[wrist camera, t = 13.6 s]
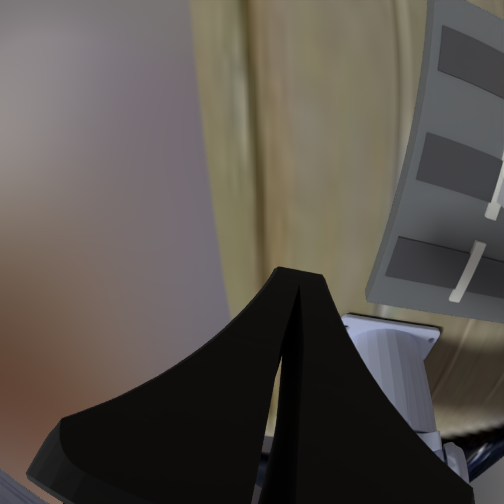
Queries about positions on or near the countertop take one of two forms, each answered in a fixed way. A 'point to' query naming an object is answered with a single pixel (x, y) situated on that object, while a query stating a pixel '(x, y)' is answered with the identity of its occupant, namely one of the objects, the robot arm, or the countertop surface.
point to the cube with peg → (501, 195)
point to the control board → (450, 176)
